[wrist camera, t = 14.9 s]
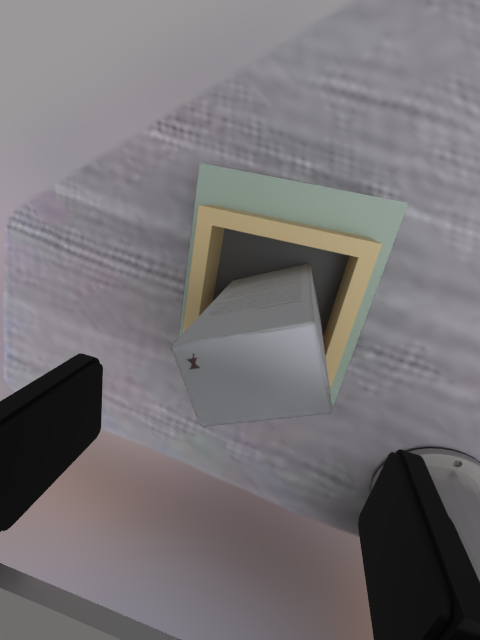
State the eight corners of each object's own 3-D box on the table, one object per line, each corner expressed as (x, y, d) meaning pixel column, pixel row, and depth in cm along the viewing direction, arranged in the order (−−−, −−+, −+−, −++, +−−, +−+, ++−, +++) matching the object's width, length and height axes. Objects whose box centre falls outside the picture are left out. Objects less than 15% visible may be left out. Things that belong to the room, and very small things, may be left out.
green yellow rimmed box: (328, 365, 32) (336, 434, 23) (200, 331, 34) (157, 382, 24) (384, 203, 26) (427, 202, 16) (225, 172, 28) (180, 155, 18)
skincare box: (246, 330, 25) (195, 429, 14) (232, 279, 24) (165, 344, 13) (323, 316, 23) (335, 418, 12) (312, 261, 22) (314, 318, 11)
